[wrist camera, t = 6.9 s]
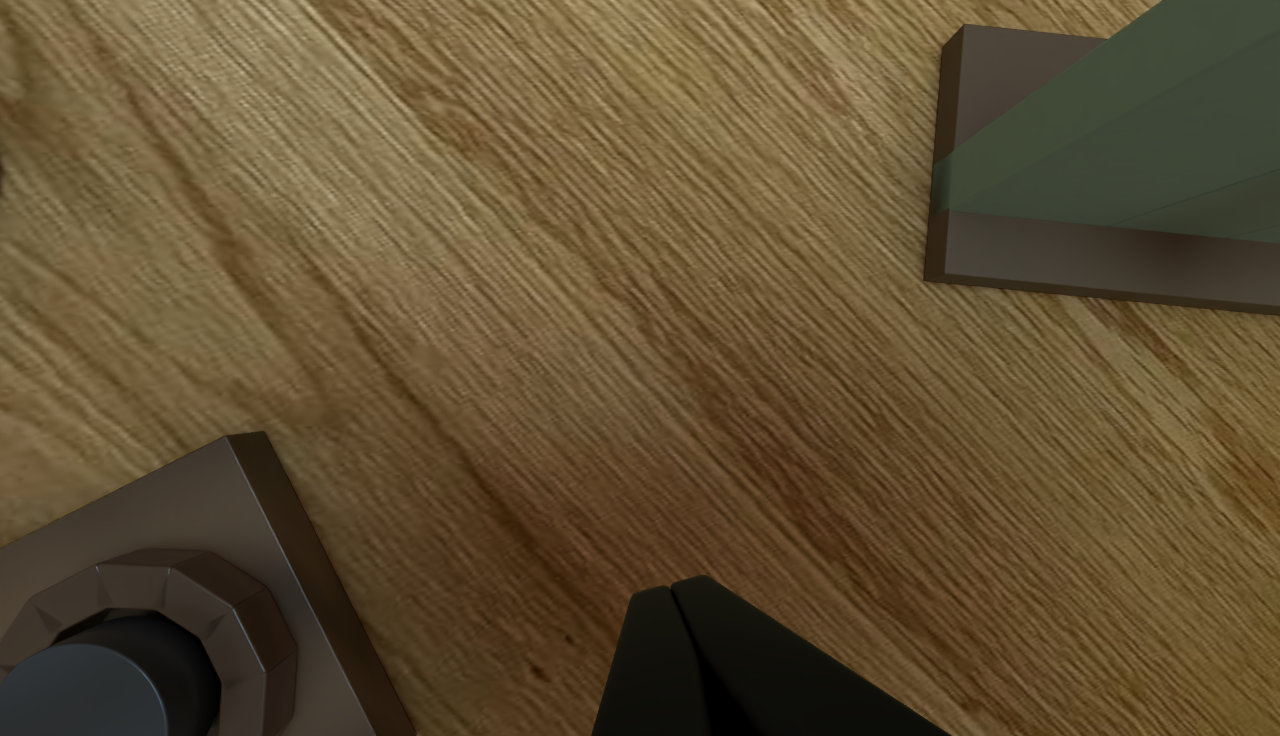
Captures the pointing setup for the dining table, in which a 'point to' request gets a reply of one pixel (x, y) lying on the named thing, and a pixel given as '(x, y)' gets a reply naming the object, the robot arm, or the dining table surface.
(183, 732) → the button
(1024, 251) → the wall plate
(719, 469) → the dining table surface
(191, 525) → the button box
